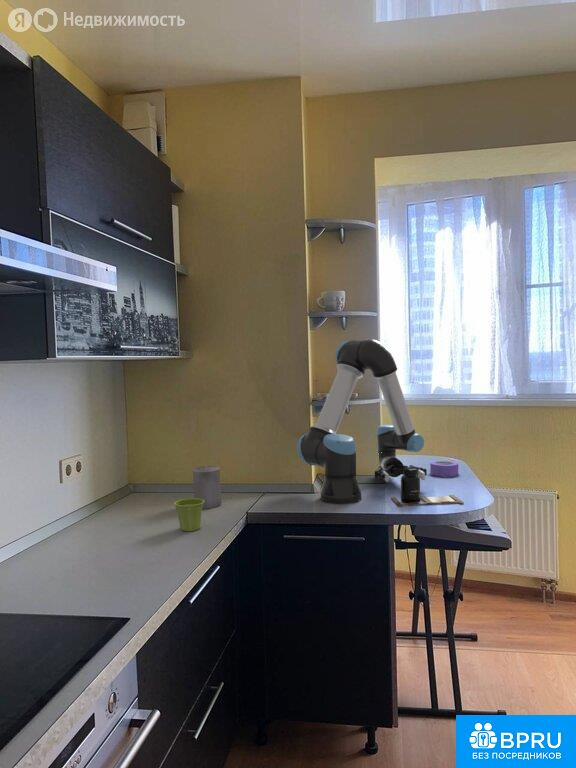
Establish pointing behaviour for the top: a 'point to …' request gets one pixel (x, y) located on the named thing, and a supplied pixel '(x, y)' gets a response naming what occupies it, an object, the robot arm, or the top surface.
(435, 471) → the tape roll
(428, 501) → the flat wooden frame
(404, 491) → the supplement bottle
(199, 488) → the pillar candle
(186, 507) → the plant pot
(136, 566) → the top surface
